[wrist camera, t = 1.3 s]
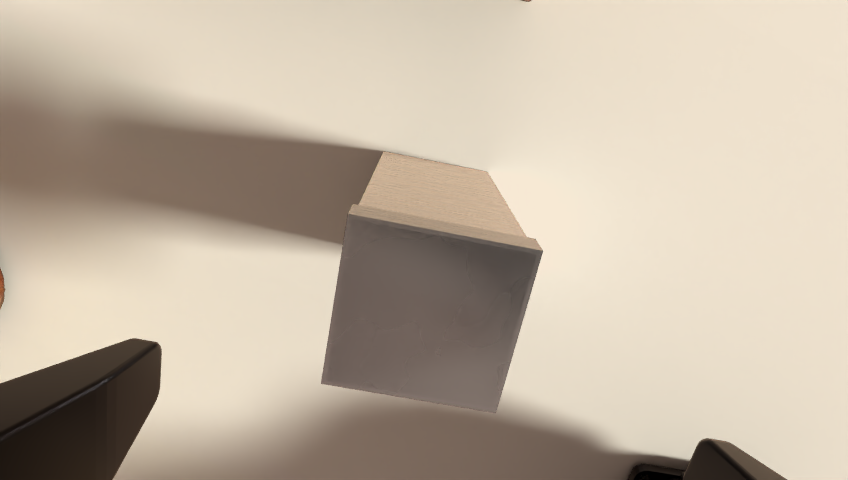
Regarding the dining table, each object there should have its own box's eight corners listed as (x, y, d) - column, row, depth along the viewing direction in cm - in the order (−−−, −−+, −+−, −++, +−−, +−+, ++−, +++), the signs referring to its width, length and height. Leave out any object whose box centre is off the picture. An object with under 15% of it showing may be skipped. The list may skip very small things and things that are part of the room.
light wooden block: (466, 270, 21) (495, 412, 12) (363, 251, 21) (321, 383, 12) (490, 170, 19) (542, 250, 11) (381, 147, 19) (347, 214, 11)
